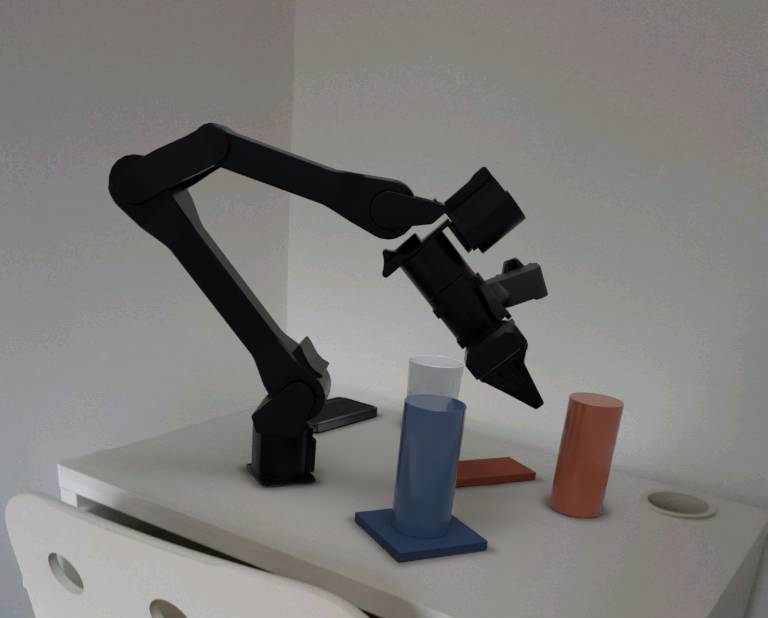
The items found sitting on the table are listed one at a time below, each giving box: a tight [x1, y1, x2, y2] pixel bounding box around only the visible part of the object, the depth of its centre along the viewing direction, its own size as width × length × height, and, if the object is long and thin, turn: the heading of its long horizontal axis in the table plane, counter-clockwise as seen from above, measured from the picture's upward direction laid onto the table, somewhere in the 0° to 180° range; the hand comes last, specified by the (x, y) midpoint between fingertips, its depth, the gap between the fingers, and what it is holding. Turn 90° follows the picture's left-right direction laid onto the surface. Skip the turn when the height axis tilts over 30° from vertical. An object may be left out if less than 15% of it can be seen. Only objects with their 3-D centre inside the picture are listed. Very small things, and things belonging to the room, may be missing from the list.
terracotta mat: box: [455, 456, 537, 488], centre depth 102 cm, size 12×6×1 cm, turn 117°
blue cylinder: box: [391, 394, 468, 538], centre depth 80 cm, size 6×6×13 cm
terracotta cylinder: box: [548, 391, 625, 519], centre depth 92 cm, size 6×6×13 cm
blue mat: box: [354, 507, 489, 563], centre depth 83 cm, size 10×10×1 cm
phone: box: [306, 396, 379, 433], centre depth 118 cm, size 8×1×15 cm
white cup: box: [406, 354, 465, 400], centre depth 117 cm, size 8×8×10 cm
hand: (534, 395), depth 90 cm, fingers open, 9 cm apart
